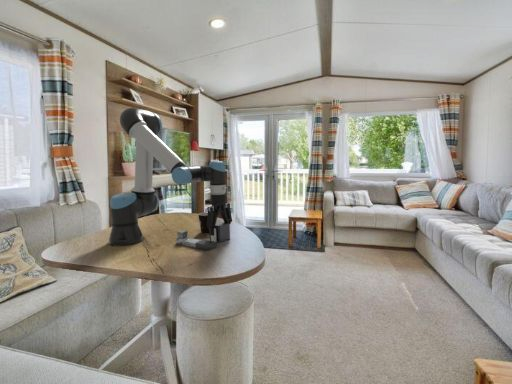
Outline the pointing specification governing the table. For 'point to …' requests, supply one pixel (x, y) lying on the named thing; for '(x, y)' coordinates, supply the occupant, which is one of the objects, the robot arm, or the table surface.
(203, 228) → the coffee mug
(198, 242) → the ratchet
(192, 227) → the table surface
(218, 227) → the dark grey cube
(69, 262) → the table surface
